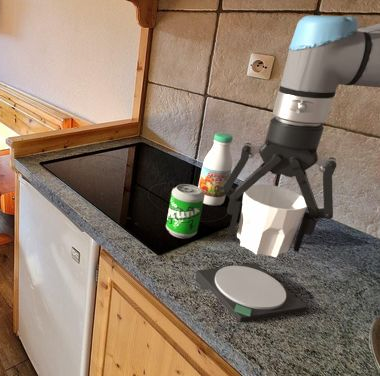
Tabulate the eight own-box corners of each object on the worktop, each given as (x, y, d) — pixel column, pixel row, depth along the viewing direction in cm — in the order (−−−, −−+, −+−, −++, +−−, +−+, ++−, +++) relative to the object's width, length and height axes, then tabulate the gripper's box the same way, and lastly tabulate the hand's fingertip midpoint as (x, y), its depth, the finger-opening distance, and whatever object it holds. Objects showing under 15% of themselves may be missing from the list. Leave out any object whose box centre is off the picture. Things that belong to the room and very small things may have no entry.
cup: (253, 225, 81) (266, 180, 77) (303, 250, 73) (320, 201, 69) (220, 238, 76) (231, 191, 72) (270, 266, 68) (286, 215, 64)
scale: (304, 317, 75) (309, 304, 74) (237, 328, 72) (241, 315, 71) (253, 271, 87) (256, 260, 86) (194, 279, 84) (196, 267, 83)
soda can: (171, 221, 107) (178, 180, 101) (200, 230, 103) (209, 188, 98) (160, 233, 101) (168, 190, 96) (191, 243, 97) (200, 199, 92)
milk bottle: (191, 194, 122) (204, 130, 113) (215, 194, 123) (230, 130, 114) (203, 206, 115) (217, 139, 106) (228, 205, 116) (245, 139, 107)
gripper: (218, 113, 67) (194, 229, 77) (388, 139, 56) (336, 269, 66) (227, 105, 73) (203, 213, 82) (382, 126, 62) (335, 248, 72)
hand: (262, 238), depth 74 cm, fingers closed on cup, 10 cm apart
